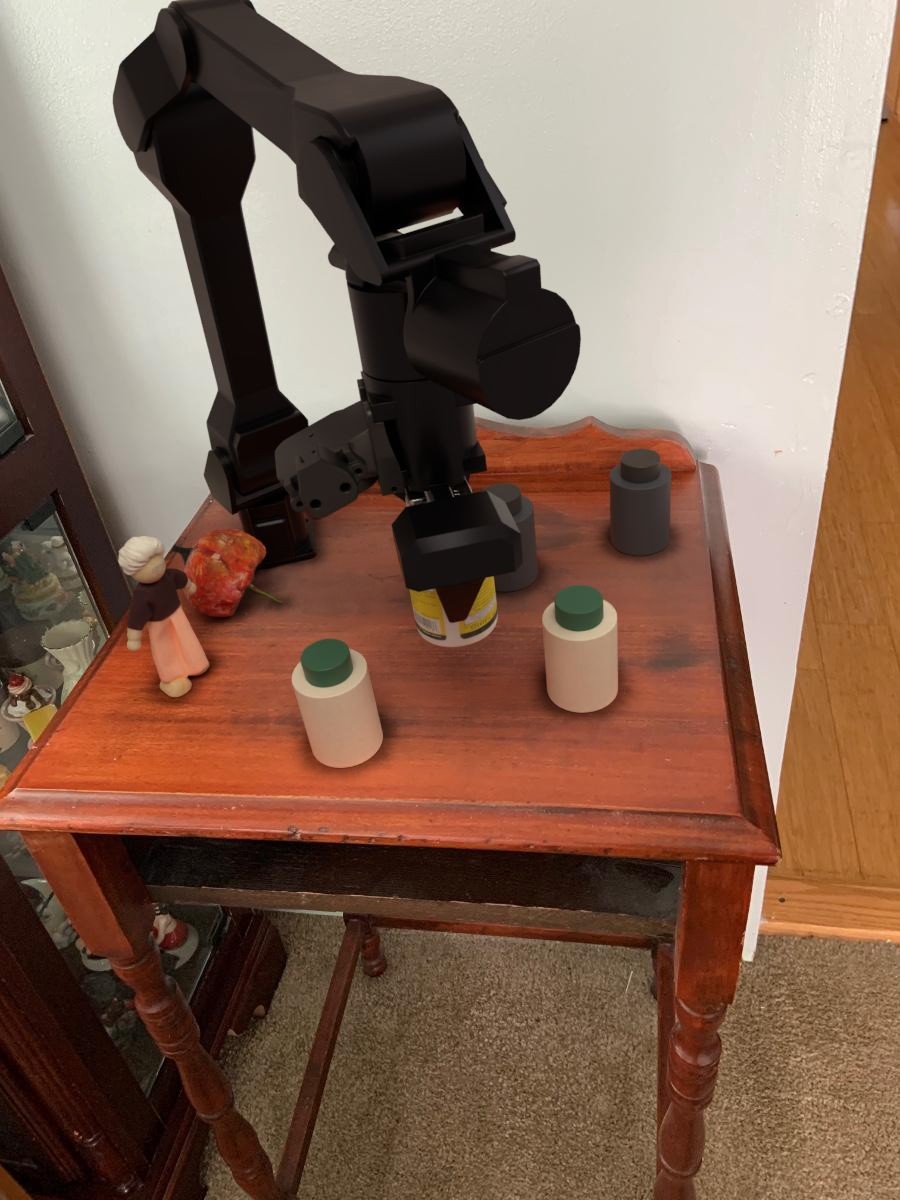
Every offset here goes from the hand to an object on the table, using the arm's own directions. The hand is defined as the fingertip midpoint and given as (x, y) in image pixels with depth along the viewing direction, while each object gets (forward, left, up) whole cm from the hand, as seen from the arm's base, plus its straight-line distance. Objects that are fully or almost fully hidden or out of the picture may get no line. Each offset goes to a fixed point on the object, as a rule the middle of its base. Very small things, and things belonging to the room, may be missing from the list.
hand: (448, 593), depth 58 cm
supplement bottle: (0, 0, -3) cm, 3 cm away
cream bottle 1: (0, -8, -11) cm, 14 cm away
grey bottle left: (-15, +7, -11) cm, 20 cm away
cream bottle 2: (0, +9, -11) cm, 14 cm away
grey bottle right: (-16, +19, -11) cm, 27 cm away
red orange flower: (-19, -16, -11) cm, 27 cm away
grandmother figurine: (-11, -20, -11) cm, 25 cm away
